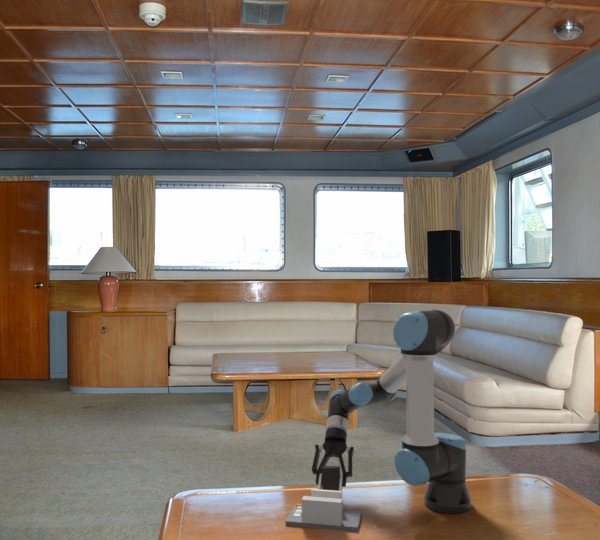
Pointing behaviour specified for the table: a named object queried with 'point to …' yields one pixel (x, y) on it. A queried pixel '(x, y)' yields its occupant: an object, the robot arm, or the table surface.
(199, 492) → the table surface
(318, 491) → the light gray flat plate
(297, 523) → the base
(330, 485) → the door stopper
